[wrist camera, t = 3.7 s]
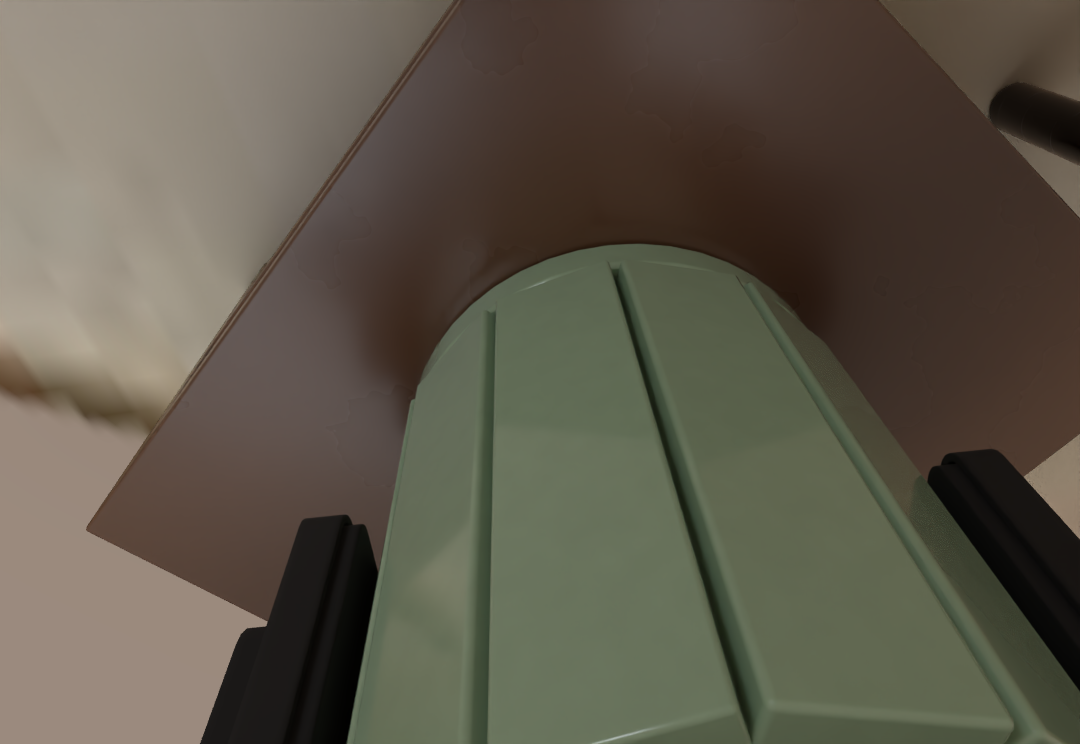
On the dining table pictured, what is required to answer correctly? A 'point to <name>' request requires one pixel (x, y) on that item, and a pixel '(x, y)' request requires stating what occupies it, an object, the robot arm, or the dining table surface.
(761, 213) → the shelf
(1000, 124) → the rack
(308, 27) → the dining table surface
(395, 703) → the cup
